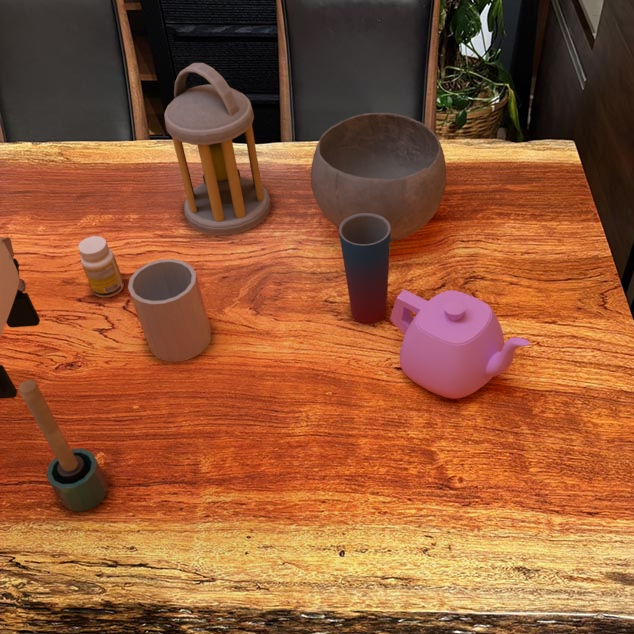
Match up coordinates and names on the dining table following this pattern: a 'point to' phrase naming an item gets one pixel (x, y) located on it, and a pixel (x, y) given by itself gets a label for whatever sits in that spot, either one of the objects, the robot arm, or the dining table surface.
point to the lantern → (216, 154)
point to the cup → (366, 264)
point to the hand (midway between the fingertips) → (13, 359)
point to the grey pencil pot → (170, 309)
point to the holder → (80, 484)
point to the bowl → (380, 171)
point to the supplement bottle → (100, 267)
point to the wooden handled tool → (53, 434)
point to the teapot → (451, 342)
